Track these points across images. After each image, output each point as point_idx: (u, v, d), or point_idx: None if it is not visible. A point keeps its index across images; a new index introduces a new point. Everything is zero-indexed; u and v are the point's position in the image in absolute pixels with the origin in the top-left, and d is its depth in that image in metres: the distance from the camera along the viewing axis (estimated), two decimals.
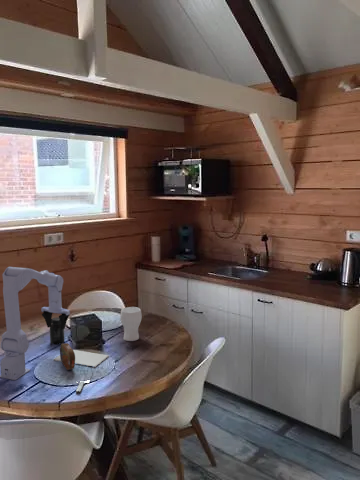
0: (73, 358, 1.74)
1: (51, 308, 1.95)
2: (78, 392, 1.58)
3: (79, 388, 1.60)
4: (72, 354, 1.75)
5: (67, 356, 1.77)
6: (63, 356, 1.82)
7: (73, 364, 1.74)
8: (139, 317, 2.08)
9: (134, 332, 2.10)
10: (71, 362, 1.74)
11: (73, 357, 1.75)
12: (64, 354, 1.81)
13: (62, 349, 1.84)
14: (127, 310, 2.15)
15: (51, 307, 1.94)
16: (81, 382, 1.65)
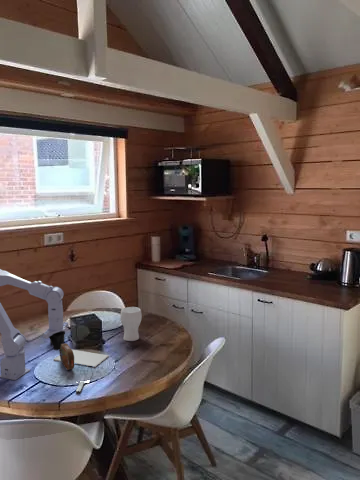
0: (72, 358, 1.74)
1: None
2: (78, 392, 1.58)
3: (79, 388, 1.60)
4: (71, 354, 1.75)
5: (66, 356, 1.77)
6: (63, 356, 1.82)
7: (72, 364, 1.74)
8: (139, 317, 2.08)
9: (134, 332, 2.10)
10: (70, 362, 1.74)
11: (72, 357, 1.74)
12: (63, 354, 1.81)
13: (61, 349, 1.84)
14: (127, 310, 2.15)
15: None
16: (81, 382, 1.65)
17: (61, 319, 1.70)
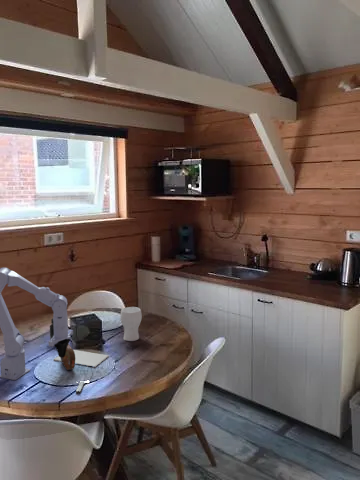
0: (73, 358, 1.74)
1: None
2: (78, 392, 1.58)
3: (79, 388, 1.60)
4: (72, 354, 1.75)
5: (67, 356, 1.77)
6: None
7: (73, 364, 1.75)
8: (139, 317, 2.08)
9: (134, 332, 2.10)
10: (71, 362, 1.74)
11: (73, 357, 1.75)
12: None
13: None
14: (127, 310, 2.15)
15: None
16: (81, 382, 1.65)
17: (66, 327, 1.74)
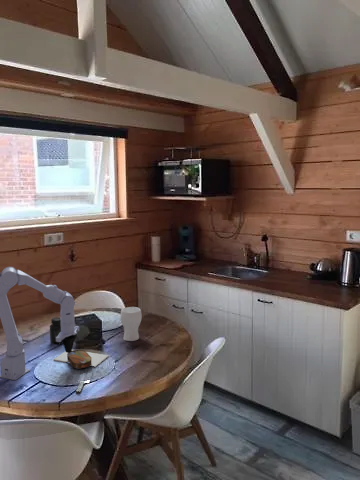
0: (88, 365, 1.79)
1: None
2: (78, 392, 1.58)
3: (79, 388, 1.60)
4: (90, 363, 1.80)
5: (84, 358, 1.82)
6: (74, 355, 1.85)
7: (83, 366, 1.77)
8: (139, 317, 2.08)
9: (134, 332, 2.10)
10: (85, 364, 1.77)
11: (89, 364, 1.79)
12: (78, 355, 1.85)
13: (78, 352, 1.88)
14: (127, 310, 2.15)
15: None
16: (81, 382, 1.65)
17: (73, 323, 1.78)
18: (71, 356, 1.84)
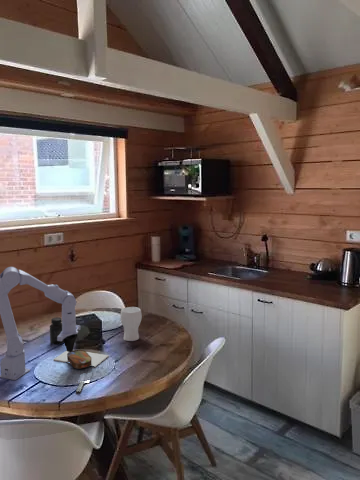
0: (88, 365, 1.79)
1: None
2: (78, 392, 1.58)
3: (79, 388, 1.60)
4: (90, 363, 1.80)
5: (84, 358, 1.82)
6: (74, 355, 1.85)
7: (83, 366, 1.77)
8: (139, 317, 2.08)
9: (134, 332, 2.10)
10: (85, 364, 1.77)
11: (89, 364, 1.79)
12: (78, 355, 1.85)
13: (78, 352, 1.88)
14: (127, 310, 2.15)
15: None
16: (81, 382, 1.65)
17: (74, 322, 1.79)
18: (71, 356, 1.84)
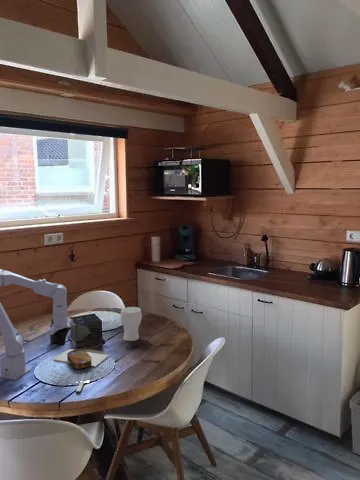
0: (88, 365, 1.79)
1: None
2: (78, 392, 1.58)
3: (79, 388, 1.60)
4: (90, 363, 1.80)
5: (84, 358, 1.82)
6: (74, 355, 1.85)
7: (83, 366, 1.77)
8: (139, 317, 2.08)
9: (134, 332, 2.10)
10: (85, 364, 1.77)
11: (89, 364, 1.79)
12: (78, 355, 1.85)
13: (78, 352, 1.88)
14: (127, 310, 2.15)
15: None
16: (81, 382, 1.65)
17: (65, 316, 1.74)
18: (71, 356, 1.84)
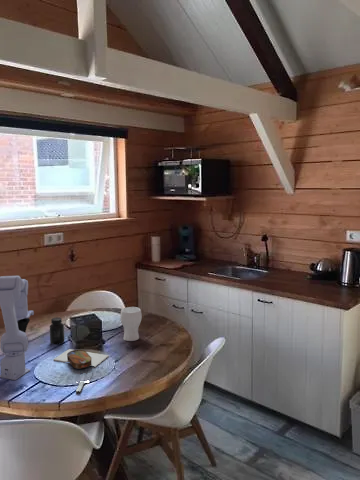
0: (88, 365, 1.79)
1: None
2: (78, 392, 1.58)
3: (79, 388, 1.60)
4: (90, 363, 1.80)
5: (84, 358, 1.82)
6: (74, 355, 1.85)
7: (83, 366, 1.77)
8: (139, 317, 2.08)
9: (134, 332, 2.10)
10: (85, 364, 1.77)
11: (89, 364, 1.79)
12: (78, 355, 1.85)
13: (78, 352, 1.88)
14: (127, 310, 2.15)
15: None
16: (81, 382, 1.65)
17: (25, 307, 1.85)
18: (71, 356, 1.84)
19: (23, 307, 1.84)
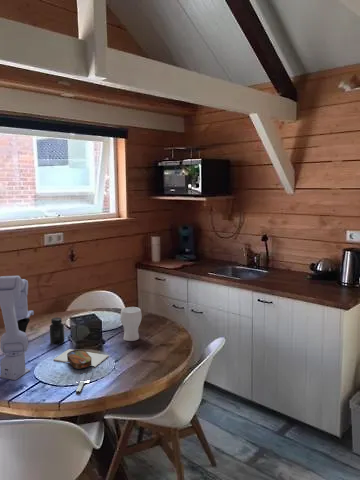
0: (88, 365, 1.79)
1: None
2: (78, 392, 1.58)
3: (79, 388, 1.60)
4: (90, 363, 1.80)
5: (84, 358, 1.82)
6: (74, 355, 1.85)
7: (83, 366, 1.77)
8: (139, 317, 2.08)
9: (134, 332, 2.10)
10: (85, 364, 1.77)
11: (89, 364, 1.79)
12: (78, 355, 1.85)
13: (78, 352, 1.88)
14: (127, 310, 2.15)
15: None
16: (81, 382, 1.65)
17: (25, 307, 1.85)
18: (71, 356, 1.84)
19: (23, 307, 1.84)
